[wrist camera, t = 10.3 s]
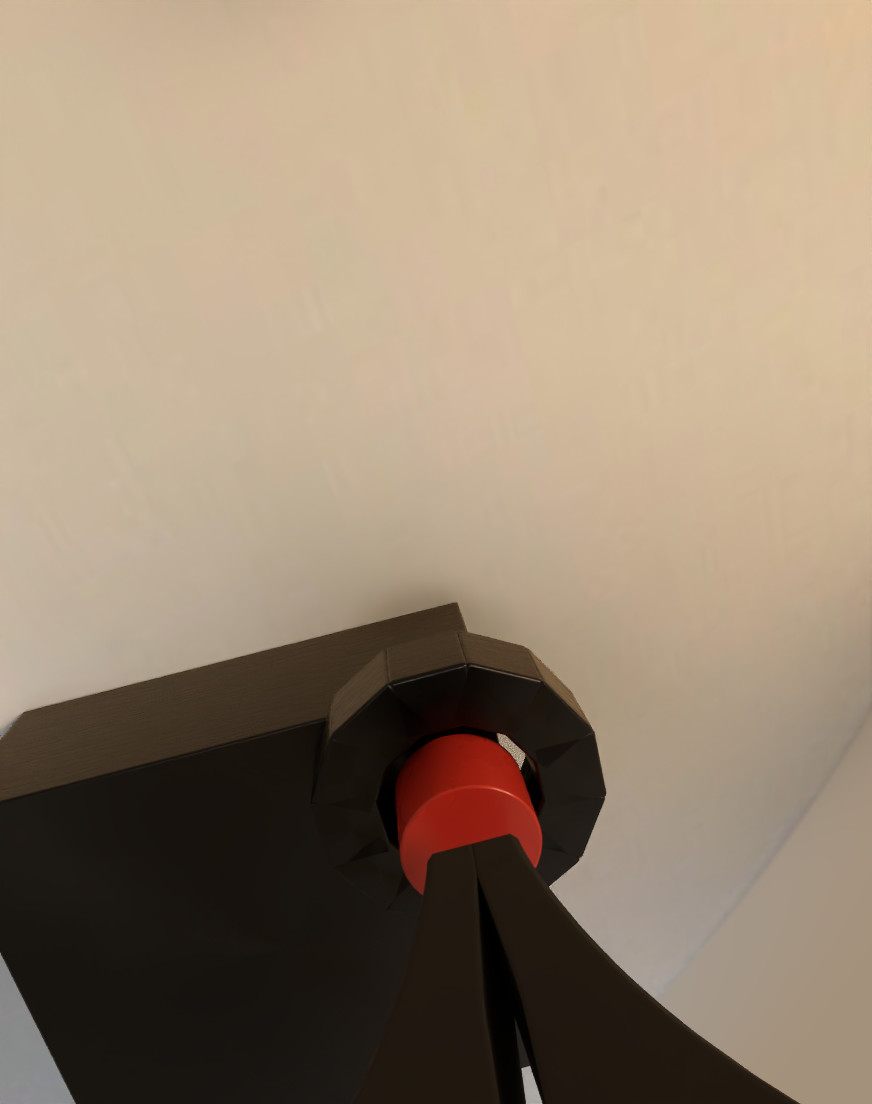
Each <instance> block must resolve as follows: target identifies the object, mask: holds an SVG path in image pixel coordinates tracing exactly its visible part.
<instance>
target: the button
mask: <svg viewBox="0 0 872 1104" xmlns="http://www.w3.org/2000/svg"><path fill="white" fill-rule="evenodd" d="M395 804H396V816H397V829H398V841H399V854H400V861H401V866H402V869H403V871H404V874H405V875H406V877H407V879H408V881H409V882H410V883H411V884H412V886H413V887H414V888H415V889H416V890H417V891H418V892H419V893H420V894H422V895H423V893H424V887H425V880H426V872H427V861H428V860H429V858H430V857H431V855H432V854H433V853H437V852H441V851H445V850H449V849H453V848H457V847H460V846H464V845H468V844H472V843H476V842H480V841H483V840H487V839H491V838H495V837H499V836H503V835H506V834H512V835H513V836H515V837H517V838H519V841H520V843H521V845H522V847H523V849H524V851H525V853H526V854H527V856H528V858H529V859H530V861H531V863H532V864H533V866H534V867H535V868H536V866H537V864H538V862H539V858H540V855H541V850H542V832H541V827H540V824H539V821H538V818H537V816H536V813H535V810H534V807H533V804H532V802H531V799H530V796H529V793H528V791H527V788H526V785H525V782H524V779H523V777H522V774H521V771H520V768H519V766H518V764H517V762H516V761H515V759H514V758H513V756H512V755H511V754H510V753H509V752H508V751H507V750H506V749H505V748H504V747H502V746H501V745H500V744H498V743H496V742H495V741H493V740H490V739H488V738H486V737H482V736H479V735H473V734H452V735H447V736H443V737H440V738H437V739H435V740H433V741H430V742H428V743H427V744H425V745H423V746H422V747H421V748H419V749H418V750H417V751H415V752H414V753H413V754H412V756H411V757H410V758H409V759H408V760H407V761H406V763H405V764H404V766H403V767H402V769H401V771H400V773H399V776H398V778H397V782H396V786H395Z"/></svg>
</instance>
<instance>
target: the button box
mask: <svg viewBox="0 0 872 1104" xmlns="http://www.w3.org/2000/svg"><path fill="white" fill-rule="evenodd" d="M497 733H499V734H504V735H506V736H507V737H508V738H509V739H510V740H511V741H512V742H513V743H515V744H516V745H517V746H518V747H519V748H520V749H521V750H522V751H523V752H524V753H525V759H524V762H523V765H522V767H521V770H520V771H521V774H522V777H523V779H524V782H525V785H526V788H527V791H528V793H529V796H530V799H531V802H532V804H533V807H534V810H535V813H536V816H537V818H538V821H539V824H540V827H541V832H542V850H541V855H540V858H539V862H538V864H537V866H536V868H535V869H536V870H537V872H538V873H539V875H540V876H541V877H542V879H543V880H544V881H545V883H546V884H547V886H548V887H549V886H550V885H551V884H552V883H553V882H555V881H556V880H557V879H558V878H559V877H561V876H562V875H563V874H564V873H565V872H567V871H568V870H569V869H570V868H571V867H573V866H574V865H575V864H576V863H577V862H578V861H579V858H580V857H582V855H583V853H584V850H585V848H586V845H587V843H588V840H589V838H590V835H591V833H592V830H593V828H594V825H595V823H596V820H597V818H598V815H599V813H600V810H601V808H602V805H603V803H604V800H605V796H606V788H605V783H604V778H603V773H602V768H601V763H600V758H599V753H598V747H597V742H596V737H595V732H594V731H593V729H592V727H591V725H590V724H589V722H588V720H587V718H586V717H585V715H584V713H583V711H582V710H581V708H580V706H579V704H578V703H577V701H576V699H575V697H574V696H573V694H572V692H571V691H570V690H569V689H568V688H567V687H566V686H565V685H564V684H563V683H562V682H561V681H560V680H559V679H558V678H557V677H556V676H555V675H554V674H553V673H552V672H551V671H550V670H549V669H548V668H547V667H546V666H545V665H544V664H543V663H542V662H541V661H540V660H539V659H538V658H537V657H536V656H535V655H534V654H533V653H532V652H531V651H530V650H529V649H527V648H525V647H524V646H521V645H517V644H513V643H509V642H505V641H501V640H497V639H493V638H489V637H485V636H480V635H476V634H472V633H468V632H467V629H466V626H465V623H464V620H463V618H462V615H461V612H460V609H459V606H458V604H457V603H451V604H447V605H443V606H439V607H435V608H431V609H427V610H423V611H420V612H416V613H412V614H408V615H404V616H400V617H396V618H392V619H388V620H384V621H380V622H376V623H373V624H369V625H365V626H361V627H357V628H353V629H349V630H345V631H341V632H337V633H333V634H329V635H325V636H322V637H318V638H314V639H310V640H306V641H302V642H298V643H294V644H290V645H286V646H282V647H278V648H275V649H271V650H267V651H263V652H259V653H255V654H251V655H247V656H243V657H239V658H235V659H231V660H227V661H224V662H220V663H216V664H212V665H208V666H204V667H200V668H196V669H192V670H188V671H184V672H180V673H177V674H173V675H169V676H165V677H161V678H157V679H153V680H149V681H145V682H141V683H137V684H133V685H129V686H126V687H122V688H118V689H114V690H110V691H106V692H102V693H98V694H94V695H90V696H86V697H82V698H79V699H75V700H71V701H67V702H63V703H59V704H55V705H51V706H47V707H43V708H39V709H35V710H31V711H28V712H24V713H23V714H22V715H21V716H20V717H19V718H18V720H17V721H16V722H15V723H14V724H13V726H12V727H11V728H10V729H9V730H8V732H7V733H6V734H5V735H4V736H3V738H2V739H1V740H0V953H1V955H2V957H3V959H4V961H5V963H6V965H7V967H8V969H9V971H10V973H11V975H12V977H13V979H14V981H15V983H16V985H17V987H18V989H19V991H20V993H21V995H22V997H23V999H24V1001H25V1003H26V1005H27V1007H28V1009H29V1011H30V1013H31V1015H32V1017H33V1019H34V1021H35V1023H36V1025H37V1027H38V1029H39V1031H40V1033H41V1035H42V1037H43V1039H44V1041H45V1043H46V1045H47V1047H48V1049H49V1051H50V1053H51V1055H52V1057H53V1059H54V1061H55V1063H56V1065H57V1067H58V1069H59V1071H60V1073H61V1075H62V1077H63V1079H64V1081H65V1083H66V1085H67V1087H68V1089H69V1091H70V1093H71V1095H72V1097H73V1100H74V1102H75V1104H351V1102H352V1100H353V1098H354V1096H355V1094H356V1092H357V1090H358V1088H359V1086H360V1084H361V1082H362V1079H363V1077H364V1075H365V1073H366V1070H367V1068H368V1066H369V1063H370V1061H371V1059H372V1057H373V1054H374V1052H375V1050H376V1047H377V1045H378V1042H379V1040H380V1037H381V1035H382V1032H383V1030H384V1027H385V1025H386V1022H387V1019H388V1017H389V1014H390V1011H391V1008H392V1005H393V1002H394V999H395V996H396V993H397V990H398V987H399V984H400V981H401V978H402V976H403V973H404V969H405V966H406V963H407V959H408V955H409V952H410V948H411V944H412V941H413V937H414V933H415V929H416V926H417V922H418V917H419V912H420V908H421V903H422V898H423V895H422V894H420V893H419V892H418V891H417V890H416V889H415V888H414V887H413V886H412V884H411V883H410V882H409V881H408V879H407V877H406V875H405V874H404V871H403V869H402V866H401V861H400V854H399V841H398V829H397V816H396V804H395V786H396V782H397V778H398V776H399V773H400V771H401V769H402V767H403V766H404V764H405V763H406V761H407V760H408V759H409V758H410V757H411V756H412V754H413V753H414V752H415V751H417V750H418V749H419V748H421V747H422V746H423V745H425V744H427V743H428V742H430V741H433V740H435V739H437V738H440V737H443V736H447V735H452V734H473V735H479V736H482V737H486V738H488V739H490V740H493V741H495V742H496V743H498V744H499V739H498V735H497ZM514 1018H515V1017H514ZM515 1025H516V1033H517V1040H518V1048H519V1055H520V1062H521V1068H523V1067H527V1066H530V1063H529V1060H528V1057H527V1054H526V1051H525V1048H524V1045H523V1042H522V1039H521V1036H520V1032H519V1029H518V1026H517V1023H516V1020H515Z"/></svg>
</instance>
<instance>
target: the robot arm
mask: <svg viewBox="0 0 872 1104" xmlns="http://www.w3.org/2000/svg"><path fill="white" fill-rule="evenodd" d="M514 1017H515V1018H514ZM515 1020H516V1023H517V1026H518V1029H519V1032H520V1036H521V1039H522V1042H523V1045H524V1048H525V1051H526V1054H527V1057H528V1060H529V1063H530V1066H531V1069H532V1073H533V1076H534V1079H535V1082H536V1085H537V1088H538V1091H539V1094H540V1097H541V1100H542V1103H543V1104H800V1103H798V1102H796V1101H795V1100H793V1099H792V1098H790V1097H789V1096H787V1095H785V1094H784V1093H782V1092H781V1091H779V1090H778V1089H776V1088H774V1087H773V1086H771V1085H770V1084H768V1083H766V1082H765V1081H763V1080H762V1079H760V1078H758V1077H757V1076H755V1075H754V1074H753V1073H751V1072H750V1071H748V1070H747V1069H746V1068H744V1067H743V1066H741V1065H740V1064H739V1063H737V1062H736V1061H734V1060H733V1059H732V1058H730V1057H729V1056H727V1055H726V1054H724V1053H723V1052H722V1051H720V1050H719V1049H718V1048H716V1047H715V1046H713V1045H712V1044H711V1043H709V1042H708V1041H706V1040H705V1039H704V1038H702V1037H701V1036H699V1035H698V1034H697V1033H695V1032H694V1031H693V1030H691V1029H690V1028H689V1027H688V1026H686V1025H685V1024H684V1023H683V1022H682V1021H680V1020H679V1019H678V1018H677V1017H675V1016H674V1015H673V1014H672V1013H670V1012H669V1011H668V1010H667V1009H665V1008H664V1007H663V1006H662V1005H661V1004H660V1003H659V1002H657V1001H656V1000H655V999H654V998H653V997H652V996H651V995H649V994H648V993H647V992H646V991H645V990H644V989H643V988H641V987H640V986H639V985H638V984H637V983H636V982H635V981H634V980H633V979H632V978H631V977H630V976H628V975H627V974H626V973H625V972H624V971H623V970H622V969H621V968H620V967H619V966H618V965H617V964H616V963H615V962H614V961H613V960H612V959H611V958H610V957H609V956H608V955H607V954H606V953H605V952H604V951H603V950H602V949H601V948H600V946H599V945H598V944H597V943H596V942H595V941H594V940H593V939H592V938H591V937H590V936H589V935H588V934H587V933H586V931H585V930H584V929H583V928H582V927H581V926H580V925H579V924H578V922H577V921H576V920H575V919H574V918H573V916H572V915H571V914H570V913H569V912H568V911H567V909H566V908H565V907H564V906H563V905H562V903H561V902H560V901H559V900H558V899H557V897H556V896H555V895H554V893H553V892H552V891H551V890H550V888H549V887H548V886H547V884H546V883H545V881H544V880H543V879H542V877H541V876H540V875H539V873H538V872H537V870H536V869H535V867H534V866H533V864H532V863H531V861H530V859H529V858H528V856H527V854H526V853H525V851H524V849H523V847H522V845H521V843H520V841H519V838H517V837H515V836H513V835H512V834H506V835H503V836H499V837H495V838H491V839H487V840H483V841H480V842H476V843H472V844H468V845H464V846H460V847H457V848H453V849H449V850H445V851H441V852H437V853H433V854H432V855H431V857H430V858H429V860H428V861H427V872H426V880H425V887H424V893H423V898H422V903H421V908H420V912H419V917H418V922H417V926H416V929H415V933H414V937H413V941H412V944H411V948H410V952H409V955H408V959H407V963H406V966H405V969H404V973H403V976H402V978H401V981H400V984H399V987H398V990H397V993H396V996H395V999H394V1002H393V1005H392V1008H391V1011H390V1014H389V1017H388V1019H387V1022H386V1025H385V1027H384V1030H383V1032H382V1035H381V1037H380V1040H379V1042H378V1045H377V1047H376V1050H375V1052H374V1054H373V1057H372V1059H371V1061H370V1063H369V1066H368V1068H367V1070H366V1073H365V1075H364V1077H363V1079H362V1082H361V1084H360V1086H359V1088H358V1090H357V1092H356V1094H355V1096H354V1098H353V1100H352V1102H351V1104H526V1100H525V1093H524V1085H523V1077H522V1070H521V1062H520V1055H519V1048H518V1040H517V1033H516V1025H515Z"/></svg>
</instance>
